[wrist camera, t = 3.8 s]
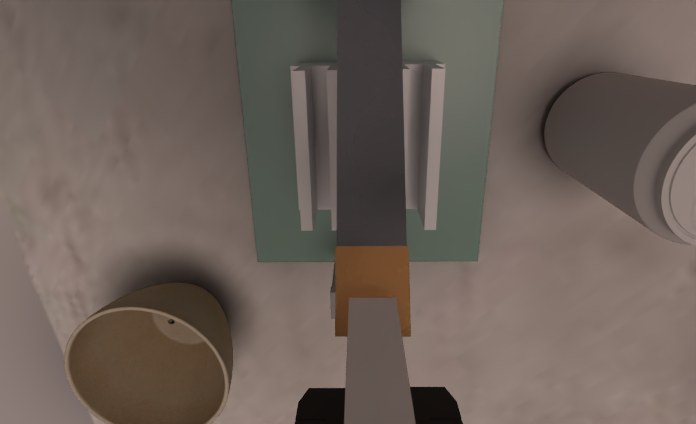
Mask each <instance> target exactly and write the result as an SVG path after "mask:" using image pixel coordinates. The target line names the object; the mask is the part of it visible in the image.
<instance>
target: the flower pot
mask: <svg viewBox="0 0 696 424" xmlns="http://www.w3.org/2000/svg"><path fill="white" fill-rule="evenodd" d="M172 321H174V323H172V324H171V322H172ZM64 365H65V372H66V376H67V379H68V382H69V384H70V387H71V389H72V390H73V392H74V393H75V395H76V397H77V398H78V399H79V401H80V402H81V403H82V404H83V405H84V406H85V407H86V408H87V410H89V411H90V412H91V413H92V414H93V415H94V416H95V417H97V418H98V419H100V420H101V421H103V422H104V423H106V424H211V423H213V422H214V421H215V420H216V418H217V417H218V416H219V415H220V413H221V412H222V411H223V409H224V407H225V404H226V401H227V398H228V394H229V389H230V384H231V378H232V368H233V347H232V339H231V333H230V329H229V325H228V322H227V319H226V316H225V314H224V312H223V310H222V308H221V306H220V304H219V303H218V301H217V300H216V299H215V297H214V296H213V295H212V294H211V293H209V292H208V291H207V290H205V289H204V288H202V287H199V286H197V285H194V284H188V283H165V284H159V285H154V286H150V287H146V288H143V289H140V290H137V291H135V292H132V293H130V294H127V295H125V296H123V297H121V298H119V299H117V300H115V301H113V302H112V303H110V304H108V305H106V306H105V307H103V308H102V309H100V310H99V311H97V312H96V313H94V314H93V315H91V316H90V317H89V318H87V319H86V320H85V321H84V322H82V323H81V324H80V325H79V326H78V327H77V328H76V330H75V331H74V332H73V334H72V335H71V337H70V339H69V341H68V343H67V346H66V350H65V356H64Z"/></svg>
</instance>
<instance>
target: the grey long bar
mask: <svg viewBox="0 0 696 424" xmlns="http://www.w3.org/2000/svg"><path fill="white" fill-rule="evenodd" d="M349 298H396V301H397V307H398V314H399V320H400V327H401V333H402V336H411V324H410V284H409V246H407V232H406V190H405V148H404V106H403V65H402V23H401V0H337V238H336V250H335V336H348V312H349Z"/></svg>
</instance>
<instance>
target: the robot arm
mask: <svg viewBox="0 0 696 424" xmlns="http://www.w3.org/2000/svg"><path fill="white" fill-rule="evenodd" d="M295 424H463V422H462V421H461V415H460V412H459V408H458V405H457V401H456V400H455V399H454V398H453V397H452V395H451V394H450V393H449V392H448V391H447V390H446V388H445V387H410V384H409V378H408V372H407V365H406V359H405V352H404V346H403V339H402V333H401V327H400V320H399V314H398V307H397V301H396V298H349V312H348V337H347V362H346V387H345V388H309V389H308V390H307V392H306V393H305V394H304V396H303V397H302V398H301V400H300V401H299V403H298V408H297V414H296V422H295Z"/></svg>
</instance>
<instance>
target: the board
mask: <svg viewBox="0 0 696 424" xmlns="http://www.w3.org/2000/svg"><path fill="white" fill-rule="evenodd" d="M231 3H232V13H233V23H234V32H235V42H236V52H237V62H238V72H239V82H240V92H241V102H242V111H243V121H244V131H245V141H246V151H247V161H248V171H249V181H250V190H251V200H252V210H253V220H254V230H255V240H256V250H257V260H258V262H335V250H336V238H337V0H231ZM502 9H503V0H401V23H402V65H403V106H404V148H405V190H406V232H407V246H409V261H478V253H479V243H480V233H481V223H482V213H483V203H484V192H485V182H486V172H487V162H488V152H489V141H490V131H491V121H492V111H493V101H494V90H495V80H496V70H497V60H498V50H499V39H500V29H501V19H502ZM330 296H331V318H335V264H334V273H333V282H332V287H331V291H330Z"/></svg>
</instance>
